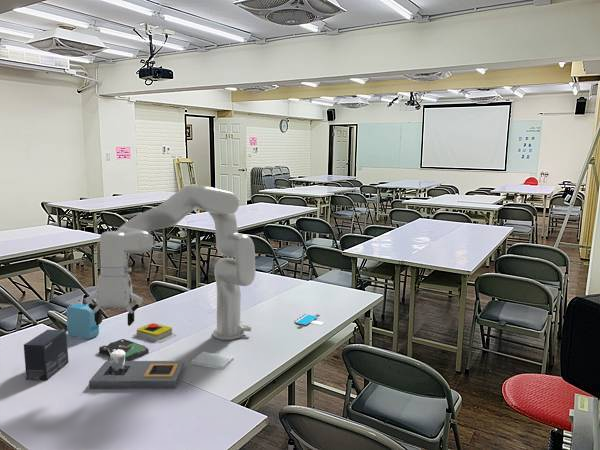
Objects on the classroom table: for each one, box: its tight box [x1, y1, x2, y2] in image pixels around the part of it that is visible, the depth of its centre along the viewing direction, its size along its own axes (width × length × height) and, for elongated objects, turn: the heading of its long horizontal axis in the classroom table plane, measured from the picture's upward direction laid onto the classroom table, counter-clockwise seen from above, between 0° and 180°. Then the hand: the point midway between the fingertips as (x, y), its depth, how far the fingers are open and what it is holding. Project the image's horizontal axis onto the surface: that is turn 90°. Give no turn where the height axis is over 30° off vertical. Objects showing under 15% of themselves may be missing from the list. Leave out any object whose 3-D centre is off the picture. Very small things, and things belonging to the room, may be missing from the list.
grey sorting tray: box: [88, 360, 186, 390], centre depth 144 cm, size 26×14×3 cm, turn 94°
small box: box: [23, 329, 69, 381], centre depth 146 cm, size 13×7×12 cm, turn 178°
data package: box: [66, 303, 100, 340], centre depth 176 cm, size 12×4×12 cm, turn 69°
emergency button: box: [133, 322, 177, 343], centre depth 180 cm, size 9×4×15 cm
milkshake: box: [108, 349, 126, 375], centre depth 143 cm, size 5×5×10 cm
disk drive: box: [98, 338, 150, 361], centre depth 162 cm, size 10×3×15 cm
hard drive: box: [190, 351, 235, 370], centre depth 157 cm, size 2×8×12 cm
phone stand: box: [294, 313, 325, 329], centre depth 200 cm, size 20×12×2 cm, turn 152°
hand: (114, 324), depth 141 cm, fingers open, 9 cm apart
